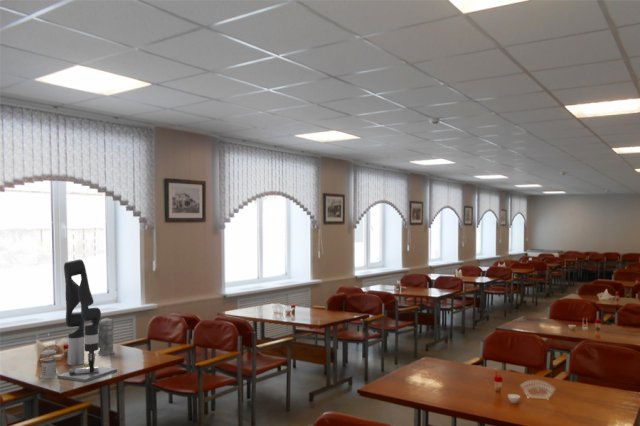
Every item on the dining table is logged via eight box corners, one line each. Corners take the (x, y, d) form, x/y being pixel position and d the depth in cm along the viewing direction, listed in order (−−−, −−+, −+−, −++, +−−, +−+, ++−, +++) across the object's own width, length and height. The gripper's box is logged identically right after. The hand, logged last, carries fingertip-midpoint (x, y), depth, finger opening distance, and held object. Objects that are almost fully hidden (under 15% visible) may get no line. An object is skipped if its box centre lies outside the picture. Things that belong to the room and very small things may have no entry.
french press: (40, 379, 293) (40, 335, 294) (38, 374, 302) (37, 332, 303) (59, 375, 299) (59, 333, 299) (56, 371, 308) (56, 330, 309)
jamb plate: (57, 377, 294) (57, 370, 294) (90, 367, 315) (89, 360, 315) (85, 381, 285) (85, 373, 285) (117, 371, 306) (116, 363, 306)
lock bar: (68, 374, 294) (68, 370, 294) (70, 372, 297) (70, 368, 298) (97, 372, 297) (97, 367, 297) (99, 370, 301) (99, 366, 301)
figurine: (110, 350, 361) (109, 315, 362) (115, 354, 349) (115, 318, 350) (95, 353, 355) (95, 317, 356) (100, 356, 344) (100, 319, 344)
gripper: (85, 340, 301) (85, 370, 300) (83, 344, 289) (83, 375, 288) (99, 339, 304) (99, 368, 303) (97, 343, 291) (97, 373, 290)
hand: (91, 371), depth 295 cm, fingers closed
